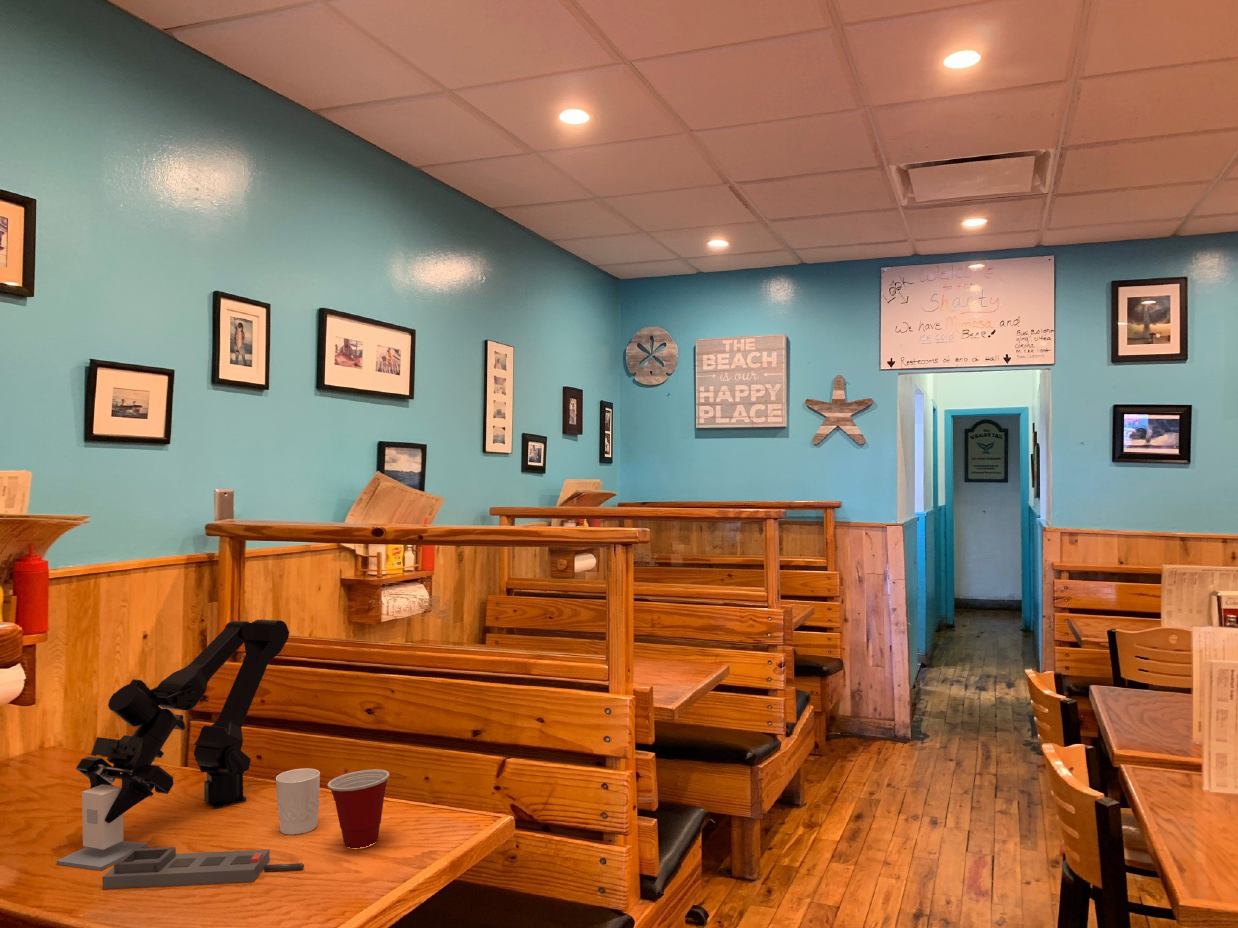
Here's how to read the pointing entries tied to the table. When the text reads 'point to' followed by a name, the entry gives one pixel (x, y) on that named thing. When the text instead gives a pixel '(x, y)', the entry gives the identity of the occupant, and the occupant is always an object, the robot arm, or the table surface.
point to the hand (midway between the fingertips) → (95, 819)
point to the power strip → (188, 868)
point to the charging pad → (100, 856)
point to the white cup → (298, 800)
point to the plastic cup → (359, 805)
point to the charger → (100, 817)
